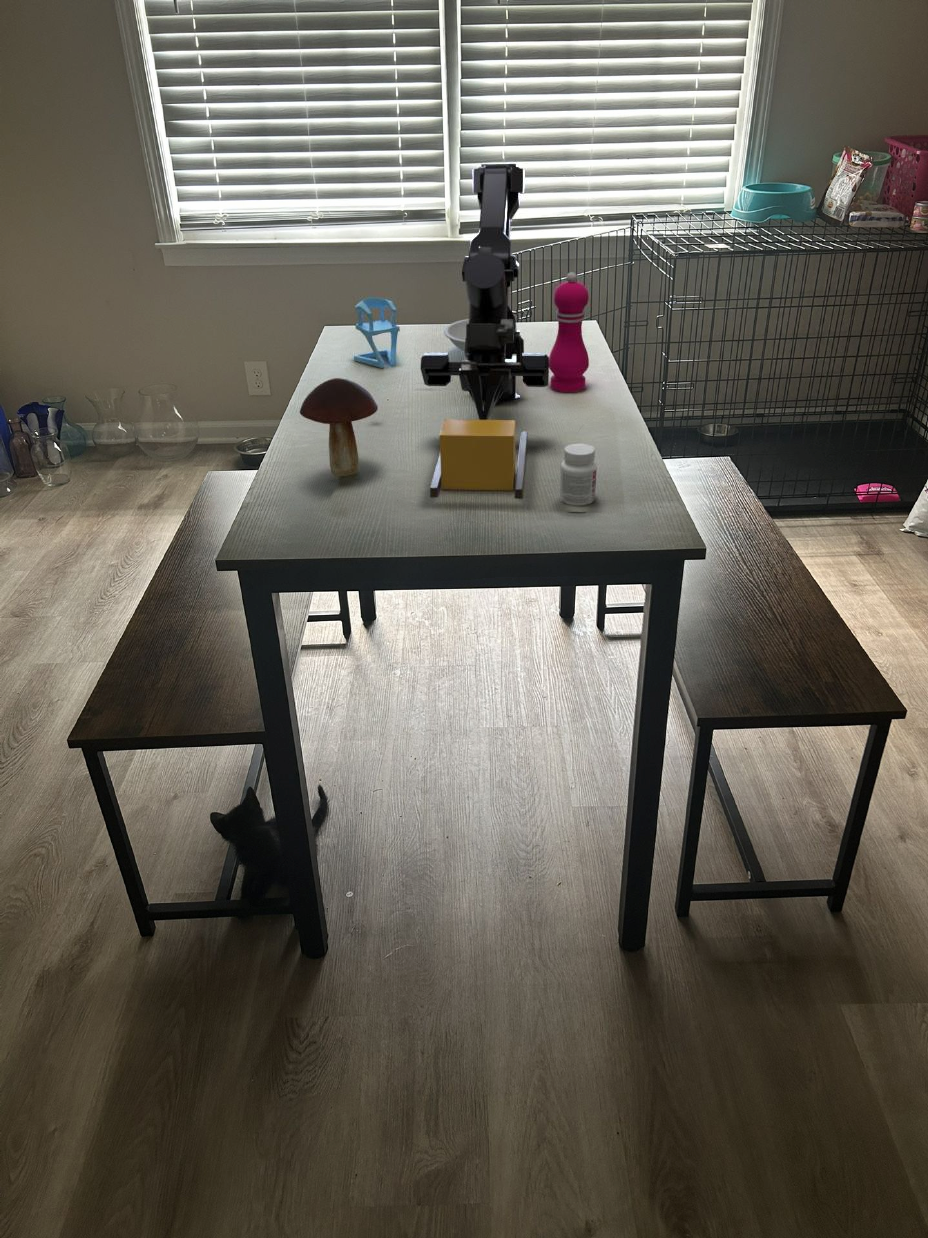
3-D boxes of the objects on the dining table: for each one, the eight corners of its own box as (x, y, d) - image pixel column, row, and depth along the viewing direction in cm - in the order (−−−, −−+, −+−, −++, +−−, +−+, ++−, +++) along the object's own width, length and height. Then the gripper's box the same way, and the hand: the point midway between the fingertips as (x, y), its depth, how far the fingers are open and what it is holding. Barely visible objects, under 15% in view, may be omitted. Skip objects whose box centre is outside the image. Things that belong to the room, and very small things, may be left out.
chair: (371, 370, 183) (366, 307, 176) (353, 359, 189) (348, 298, 182) (406, 363, 186) (403, 301, 179) (388, 353, 192) (384, 292, 186)
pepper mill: (561, 395, 168) (565, 278, 157) (540, 384, 173) (542, 270, 163) (595, 389, 170) (601, 273, 160) (573, 378, 176) (578, 265, 165)
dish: (448, 342, 198) (448, 317, 195) (517, 341, 197) (517, 317, 194) (440, 367, 183) (439, 341, 180) (515, 368, 182) (515, 341, 179)
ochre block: (446, 472, 137) (444, 419, 133) (515, 473, 136) (515, 419, 132) (441, 489, 132) (439, 434, 127) (513, 490, 131) (513, 435, 127)
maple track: (442, 446, 149) (442, 430, 147) (531, 447, 148) (532, 431, 146) (425, 505, 131) (424, 487, 129) (527, 507, 129) (527, 489, 128)
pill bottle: (599, 512, 128) (602, 453, 123) (565, 516, 127) (567, 457, 122) (588, 497, 132) (590, 440, 127) (555, 501, 131) (556, 444, 126)
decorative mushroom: (394, 484, 137) (387, 383, 129) (322, 500, 133) (310, 396, 125) (366, 459, 145) (358, 362, 137) (297, 473, 141) (285, 374, 133)
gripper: (418, 296, 135) (412, 398, 131) (550, 296, 133) (547, 399, 130) (428, 336, 145) (422, 431, 142) (549, 336, 144) (546, 432, 141)
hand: (482, 423), depth 138 cm, fingers closed
